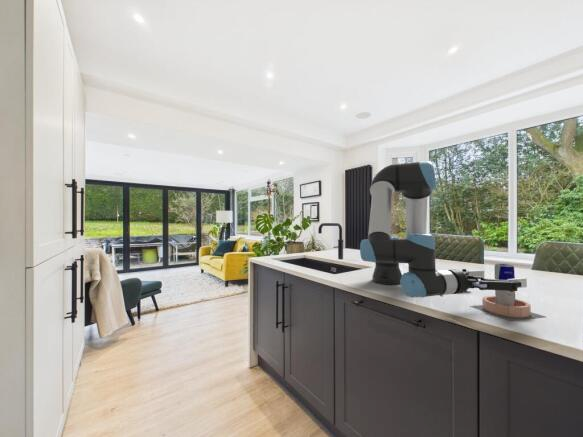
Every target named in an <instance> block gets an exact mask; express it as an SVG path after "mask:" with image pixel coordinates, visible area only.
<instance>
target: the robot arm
mask: <svg viewBox="0 0 583 437" xmlns="http://www.w3.org/2000/svg"><path fill="white" fill-rule="evenodd" d="M434 167H435V166H434V163H433V162H432V161H430V160H429V161H427V160H426V161H422V160H421V161H415V162H405V163H395V164H390V165H387V166H385V167H384V168H382V169H381V170H379V171H378V172H377V173H376V174H375V175H374V177H373V179H372V180H371V183H370V187H369V193H370V196H371V201H370V202H371V203H370V210H369V211H370V212H369V213H370V214H369V223H368V233H367V234H368V235H367V238H365V239H362V240H361V241H360V245H359V253H360V259H361V260H362V261H364V262H370V263H375V266H374V270H373V273H372V282H374V283H376V282H377V283H376V284H381V283H382V285H399V286H400V288H401V290H402V292H403V294H405V295H406V296H408V297H409V298H425V297H426V298H427V297H434V296H435V297H436V296H439V297H444V295H445V296H446V295H459V294H465V293H466V292H467V291H468V290H469V289H478V290H479V291H495V290H505V291H510V292H513V291H515V292H518V289H521V288H522V289H524V288H527V287H528V282H527V280H528V279H527V277H526V278H525V277H520V278H519V277H518V278H515V279H507V280H498V279H495V278H494V279H493V278H485V270H483V269H480V270H477V269H475V270H467V269H466V268H462V269H461V270H460V269H441V270H440V269H439V270H436V243H435V237H434V235H433V234H432V233H427V221H428V220H427V216H428V197H430V196H431V195H432V192H433V191H434V190H437V180H436V171H435V168H434ZM400 192H401V195H402V197H403V198H404V199H405V234H404V235H403V238H402V239H401V238H399V236H392V205H393V204H392V198H393V196H394V194H395V193H400ZM400 264H408V271H407V272H404V273H403V274H402V271H401V269H400ZM468 288H469V289H468Z"/></svg>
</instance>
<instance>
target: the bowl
mask: <svg viewBox="0 0 583 437" xmlns="http://www.w3.org/2000/svg"><path fill="white" fill-rule="evenodd" d="M482 305H483V308H484V310H486V311H488V312H490V313H493V314H497V315H501V316H506V317H513V318H527V317H530V313H531V312H532V308H531V306H532V305H531V303H529V302H527V301H524V300H521V299H517V298H515V306H507V305H501V304H496V300H495V295H488V296H483V297H482Z"/></svg>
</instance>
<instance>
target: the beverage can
mask: <svg viewBox="0 0 583 437" xmlns="http://www.w3.org/2000/svg"><path fill="white" fill-rule="evenodd" d="M494 279H498V280H507V279H516V278H515V265H514V264H509V263H494ZM494 292H495V295H494V296H495V300H496V304H501V305H507V306H515V299H516V291H513V292H510V291H505V290H494Z"/></svg>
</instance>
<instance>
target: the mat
mask: <svg viewBox="0 0 583 437" xmlns="http://www.w3.org/2000/svg"><path fill="white" fill-rule="evenodd" d="M469 307H470V308H473V309H476V310H479V311H481V312H484V313H487V314H490V315H492V316H496V317H497V318H501V319H503V320H506V321H509V322H514V321H515V322H517V321H524V320H534V319H541V318H547V316H545V315H541V314H538V313H535V312H532V311H531V313H530V317H527V318H513V317H506V316H501V315H497V314H493V313H490V312H488V311H486V310H484V308H483V304H482V305H481V304H480V305H470V306H469Z"/></svg>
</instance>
